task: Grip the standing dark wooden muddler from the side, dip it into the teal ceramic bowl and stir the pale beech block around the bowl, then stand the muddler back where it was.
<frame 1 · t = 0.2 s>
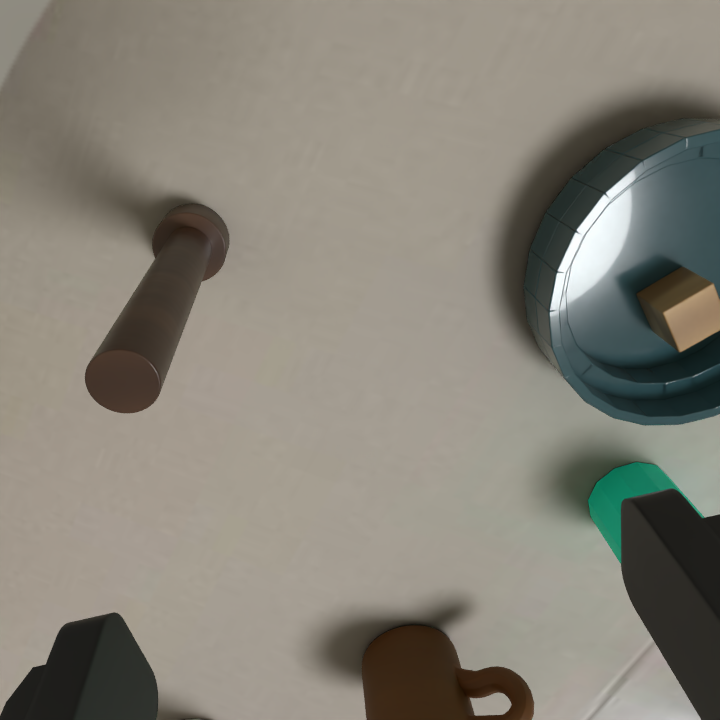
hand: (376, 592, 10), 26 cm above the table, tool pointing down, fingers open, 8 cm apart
mug: (431, 640, 49), on the table
block: (667, 299, 37), point 1 cm above the table, touching bowl
bowl: (656, 265, 36), on the table
muddler: (194, 237, 33), on the table
candle: (627, 494, 44), on the table
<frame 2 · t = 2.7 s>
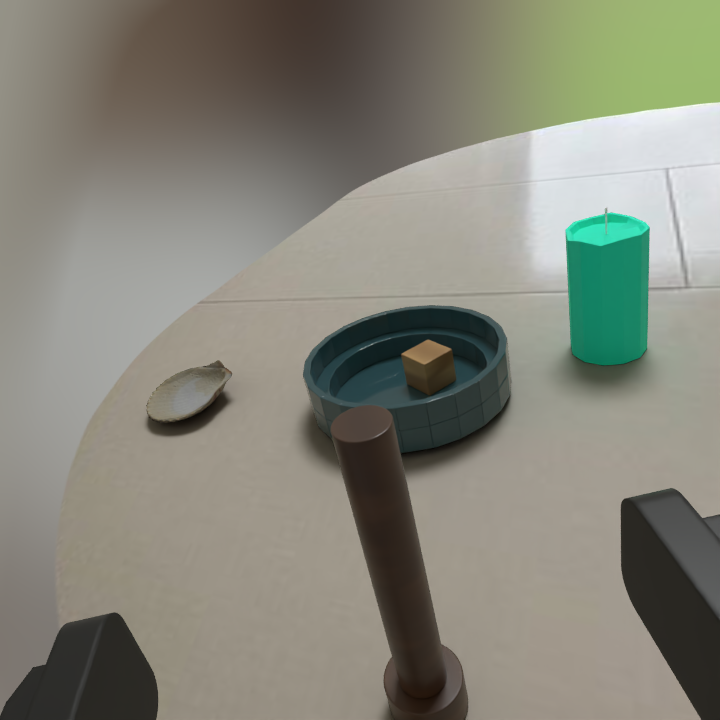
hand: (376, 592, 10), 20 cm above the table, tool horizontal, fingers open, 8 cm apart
block: (431, 382, 52), point 1 cm above the table, touching bowl
bowl: (411, 397, 52), on the table
muddler: (429, 702, 29), on the table
seashell: (195, 407, 58), on the table
candle: (608, 349, 53), on the table
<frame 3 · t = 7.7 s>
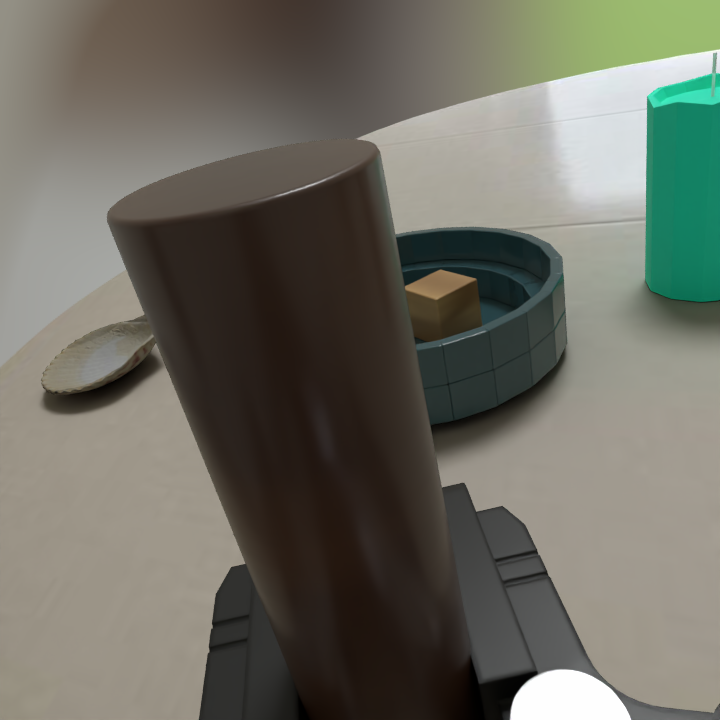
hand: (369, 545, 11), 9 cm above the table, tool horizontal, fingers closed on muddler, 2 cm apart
block: (445, 331, 36), point 1 cm above the table, touching bowl
bowl: (416, 353, 35), on the table
seashell: (114, 375, 42), on the table
candle: (701, 282, 36), on the table
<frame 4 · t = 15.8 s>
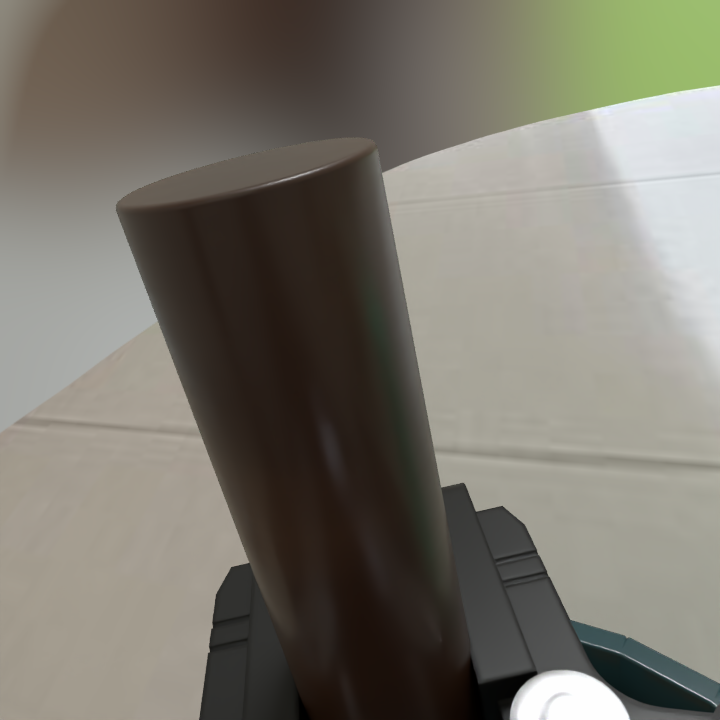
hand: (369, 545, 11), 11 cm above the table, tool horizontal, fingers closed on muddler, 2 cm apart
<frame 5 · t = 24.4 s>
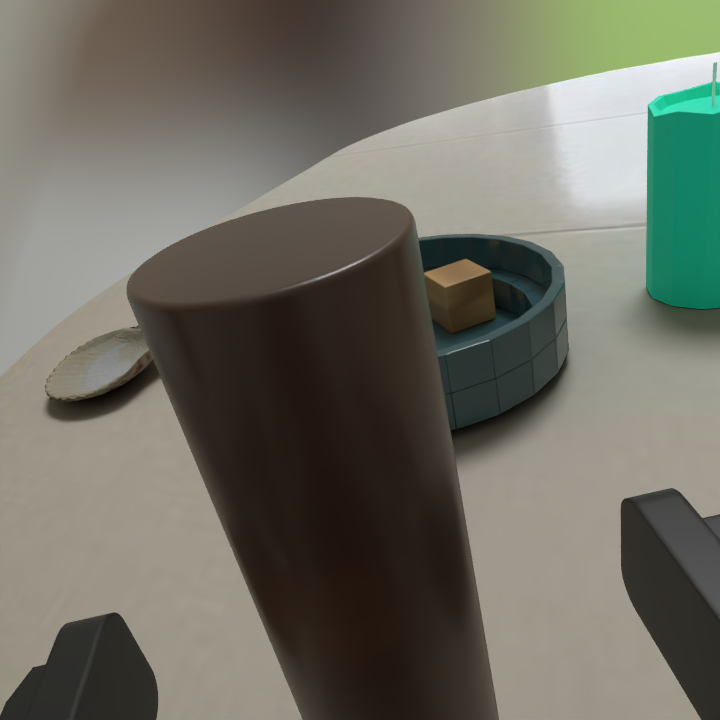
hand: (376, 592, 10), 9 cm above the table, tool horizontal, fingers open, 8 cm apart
block: (462, 317, 38), point 1 cm above the table, touching bowl
bowl: (418, 360, 36), on the table
seashell: (117, 382, 42), on the table
candle: (702, 289, 36), on the table
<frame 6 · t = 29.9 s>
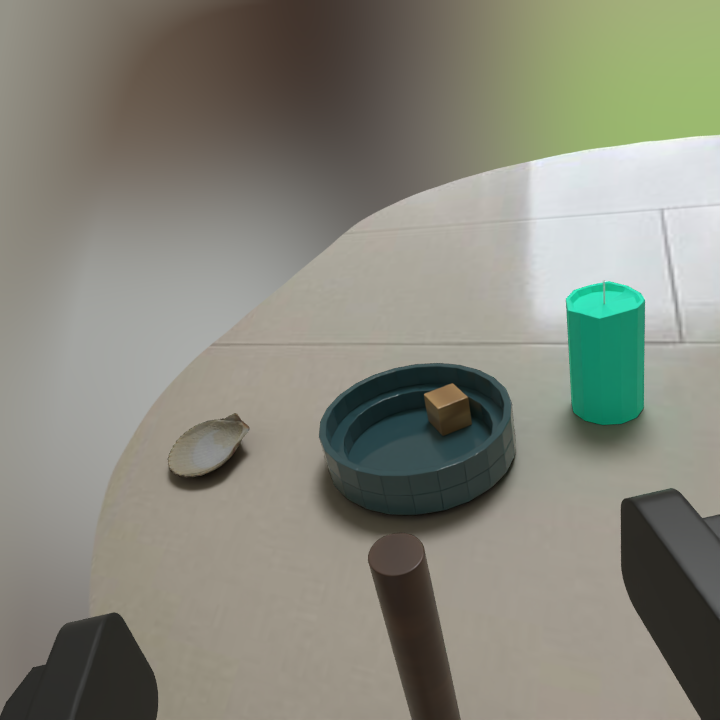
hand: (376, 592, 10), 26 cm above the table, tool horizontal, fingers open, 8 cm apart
block: (449, 422, 57), point 1 cm above the table, touching bowl
bowl: (421, 454, 55), on the table
seashell: (214, 459, 61), on the table
candle: (606, 407, 56), on the table
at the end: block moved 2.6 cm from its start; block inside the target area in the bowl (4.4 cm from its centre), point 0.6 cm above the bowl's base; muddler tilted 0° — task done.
